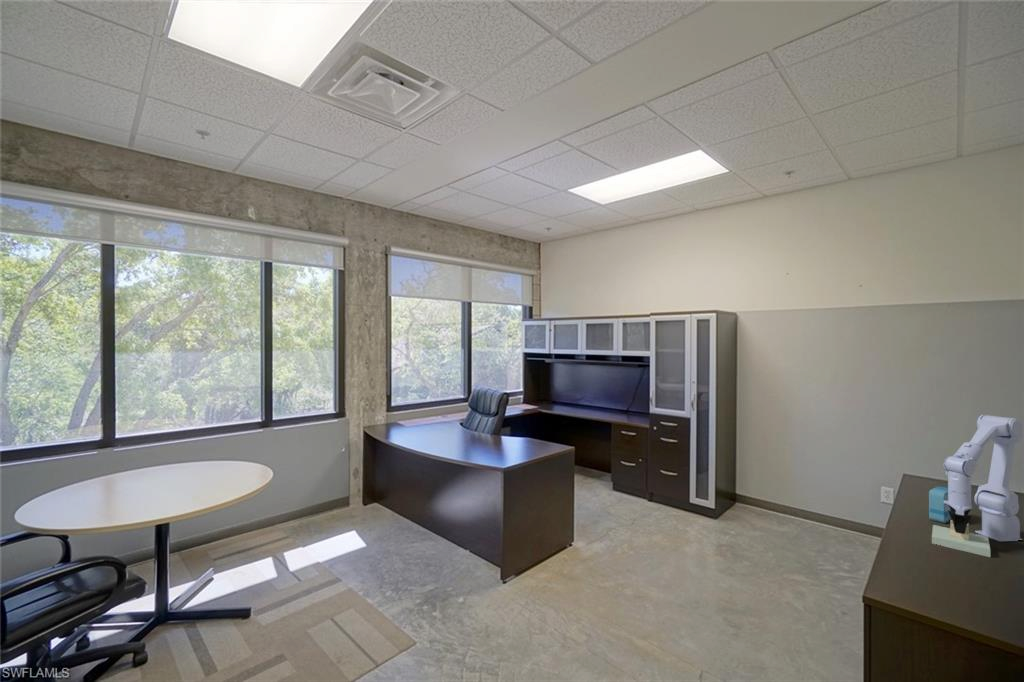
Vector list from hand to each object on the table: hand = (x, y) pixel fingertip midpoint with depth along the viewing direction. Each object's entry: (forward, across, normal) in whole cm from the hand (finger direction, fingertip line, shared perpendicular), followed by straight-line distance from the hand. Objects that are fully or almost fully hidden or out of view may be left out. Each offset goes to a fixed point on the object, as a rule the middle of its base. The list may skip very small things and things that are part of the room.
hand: (959, 529), depth 154 cm
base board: (+5, 0, 0) cm, 5 cm away
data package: (+5, -25, -5) cm, 26 cm away
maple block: (+2, 0, 0) cm, 2 cm away
